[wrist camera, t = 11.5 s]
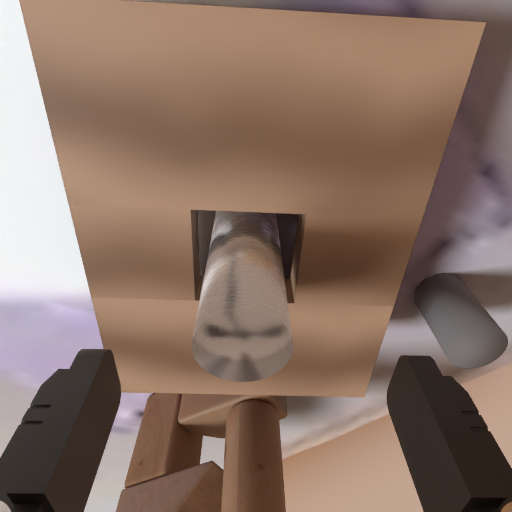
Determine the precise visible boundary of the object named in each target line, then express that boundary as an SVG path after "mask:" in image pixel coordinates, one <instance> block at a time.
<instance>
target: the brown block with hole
mask: <svg viewBox="0 0 512 512" xmlns="http://www.w3.org/2000/svg"><path fill="white" fill-rule="evenodd" d="M19 1H20V6H21V10H22V14H23V18H24V22H25V26H26V30H27V34H28V39H29V43H30V47H31V51H32V55H33V59H34V63H35V67H36V71H37V76H38V80H39V84H40V88H41V92H42V96H43V100H44V104H45V109H46V113H47V117H48V121H49V125H50V129H51V133H52V137H53V141H54V146H55V150H56V154H57V158H58V162H59V166H60V170H61V174H62V179H63V183H64V187H65V191H66V195H67V199H68V203H69V207H70V211H71V216H72V220H73V224H74V228H75V232H76V236H77V240H78V244H79V249H80V253H81V257H82V261H83V265H84V269H85V273H86V277H87V281H88V286H89V290H90V294H91V298H92V302H93V306H94V310H95V314H96V319H97V323H98V327H99V331H100V335H101V339H102V343H103V347H104V349H110V350H111V351H112V352H113V356H114V360H115V364H116V367H117V371H118V375H119V379H120V384H121V392H131V393H180V394H229V395H278V396H327V397H364V396H365V393H366V390H367V387H368V384H369V381H370V378H371V375H372V372H373V369H374V366H375V362H376V359H377V356H378V353H379V350H380V347H381V344H382V341H383V338H384V335H385V332H386V329H387V326H388V323H389V320H390V316H391V313H392V310H393V307H394V304H395V301H396V298H397V295H398V292H399V289H400V286H401V283H402V280H403V277H404V273H405V270H406V267H407V264H408V261H409V258H410V255H411V252H412V249H413V246H414V243H415V240H416V237H417V234H418V230H419V227H420V224H421V221H422V218H423V215H424V212H425V209H426V206H427V203H428V200H429V197H430V194H431V191H432V188H433V184H434V181H435V178H436V175H437V172H438V169H439V166H440V163H441V160H442V157H443V154H444V151H445V148H446V145H447V141H448V138H449V135H450V132H451V129H452V126H453V123H454V120H455V117H456V114H457V111H458V108H459V105H460V102H461V99H462V95H463V92H464V89H465V86H466V83H467V80H468V77H469V74H470V71H471V68H472V65H473V62H474V59H475V56H476V52H477V49H478V46H479V43H480V40H481V37H482V34H483V31H484V28H485V25H486V22H473V21H457V20H440V19H424V18H407V17H391V16H374V15H358V14H341V13H325V12H308V11H292V10H275V9H259V8H242V7H226V6H209V5H193V4H176V3H160V2H143V1H127V0H19ZM197 210H211V211H236V212H262V213H287V214H298V220H297V229H296V237H295V245H294V253H293V261H292V269H291V277H290V278H284V279H285V287H286V294H287V302H288V310H289V317H290V325H291V333H292V341H293V351H292V355H291V357H290V359H289V361H288V363H287V364H286V365H285V366H284V367H283V368H282V369H281V370H280V371H278V372H277V373H275V374H273V375H272V376H269V377H267V378H264V379H261V380H257V381H250V382H235V381H229V380H225V379H221V378H218V377H216V376H214V375H212V374H210V373H208V372H207V371H206V370H204V369H203V368H202V367H201V366H200V365H199V364H198V362H197V361H196V359H195V358H194V355H193V352H192V338H193V333H194V328H195V322H196V317H197V311H198V306H199V301H200V295H201V290H202V284H203V279H204V275H200V263H199V237H198V211H197Z"/></svg>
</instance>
